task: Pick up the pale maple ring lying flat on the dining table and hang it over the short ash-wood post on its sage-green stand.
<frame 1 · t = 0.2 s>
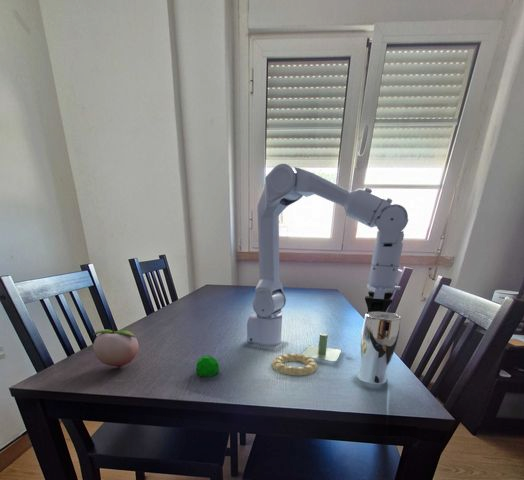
hand: (374, 324, 68), 10 cm above the table, tool pointing down, fingers open, 7 cm apart
decorative fruit: (119, 368, 65), on the table
post stand: (321, 356, 74), on the table
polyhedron: (208, 377, 62), on the table
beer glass: (370, 383, 61), on the table
ring: (294, 365, 66), point 1 cm above the table
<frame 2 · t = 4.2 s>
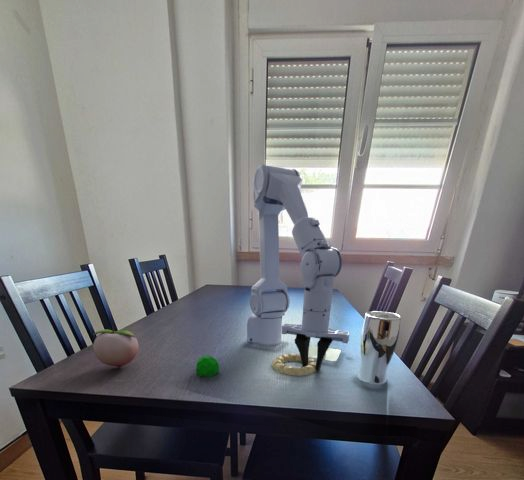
hand: (311, 367, 64), 1 cm above the table, tool pointing down, fingers closed on ring, 2 cm apart
ring: (294, 365, 66), point 1 cm above the table, touching gripper
everything else where it was.
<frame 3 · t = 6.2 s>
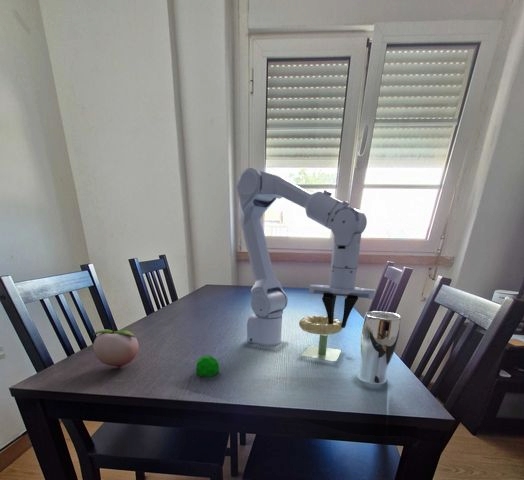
hand: (336, 326, 68), 9 cm above the table, tool pointing down, fingers closed on ring, 2 cm apart
ring: (320, 324, 69), point 9 cm above the table, touching gripper
everything else where it was.
when the fingers open (3 cm above the table, at t = 8.4 s): ring stays where it is, resting on post stand.
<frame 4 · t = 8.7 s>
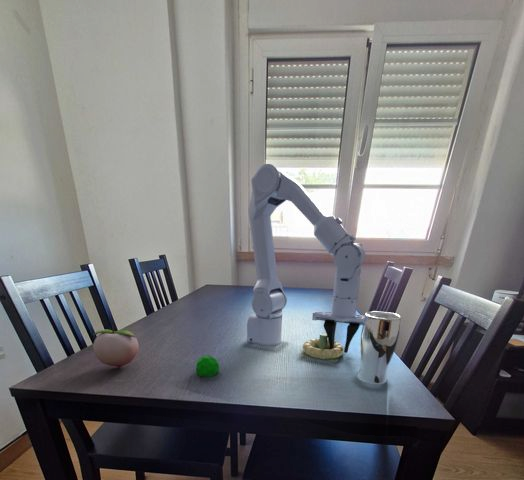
hand: (338, 350, 72), 3 cm above the table, tool pointing down, fingers open, 3 cm apart
ring: (322, 348, 73), point 2 cm above the table, touching post stand
everything else where it was.
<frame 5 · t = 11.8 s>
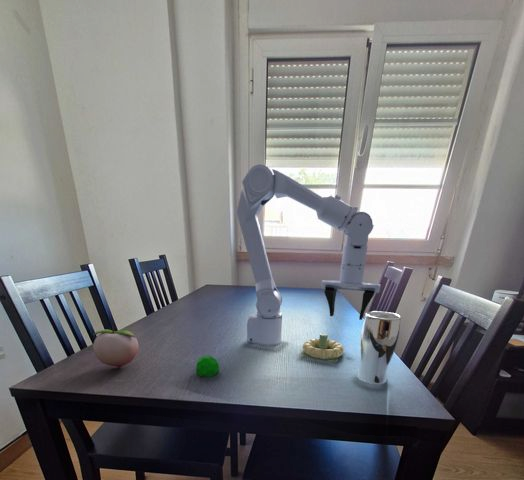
hand: (346, 317, 76), 9 cm above the table, tool pointing down, fingers open, 7 cm apart
nothing on the table moved.
at the end: ring 0.1 cm from the post stand (horizontally); ring point 2.4 cm above the table; the gripper is holding nothing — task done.
